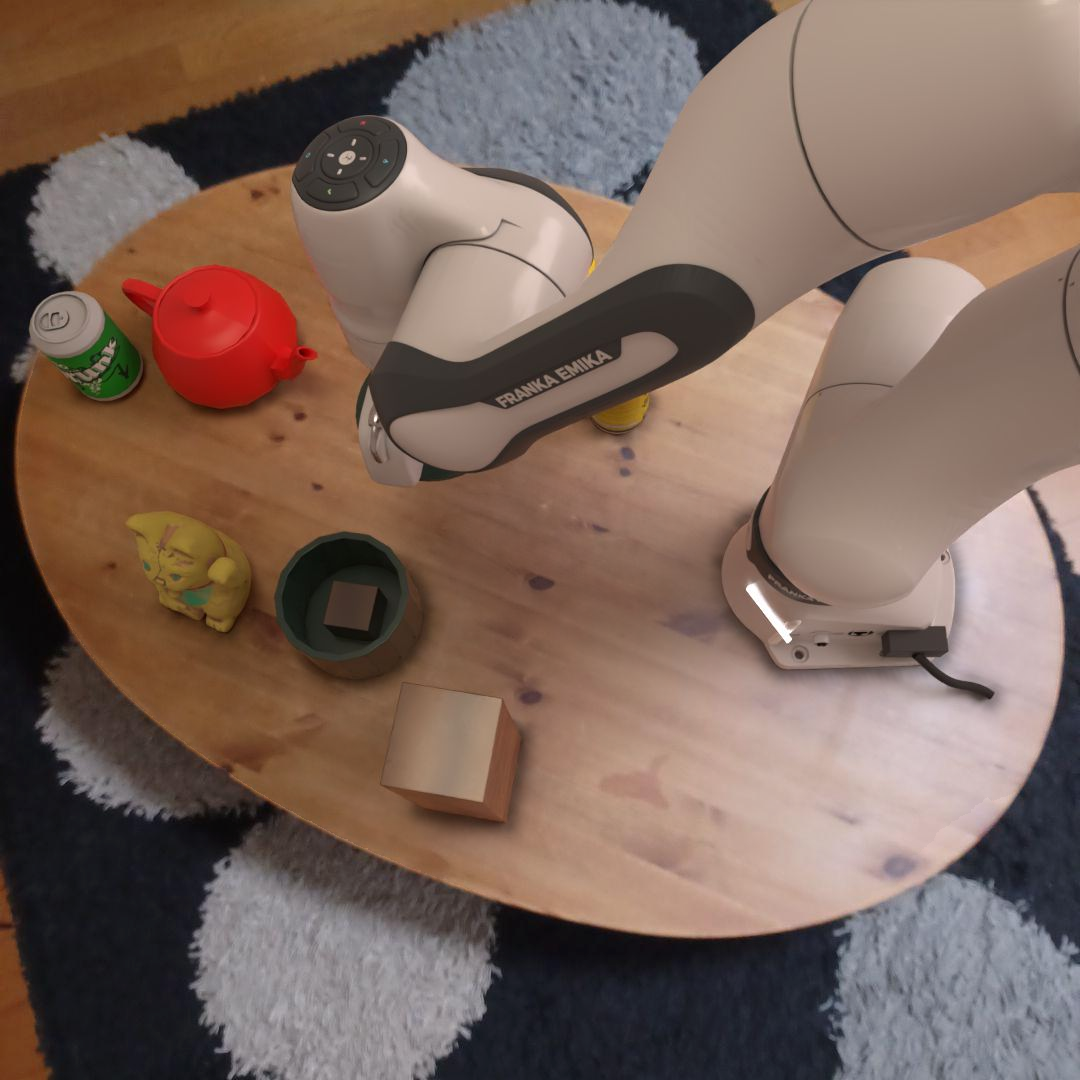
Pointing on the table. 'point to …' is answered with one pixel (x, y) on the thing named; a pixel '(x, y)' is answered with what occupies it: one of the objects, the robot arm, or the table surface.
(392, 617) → the tin
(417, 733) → the stand
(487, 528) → the table surface
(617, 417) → the pill bottle
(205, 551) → the figurine
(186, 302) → the teapot
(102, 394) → the soda can
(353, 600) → the block
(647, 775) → the table surface
